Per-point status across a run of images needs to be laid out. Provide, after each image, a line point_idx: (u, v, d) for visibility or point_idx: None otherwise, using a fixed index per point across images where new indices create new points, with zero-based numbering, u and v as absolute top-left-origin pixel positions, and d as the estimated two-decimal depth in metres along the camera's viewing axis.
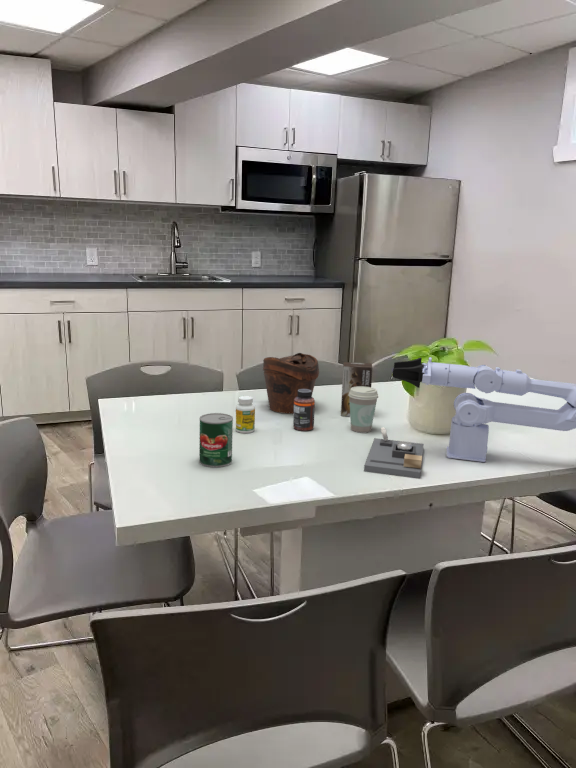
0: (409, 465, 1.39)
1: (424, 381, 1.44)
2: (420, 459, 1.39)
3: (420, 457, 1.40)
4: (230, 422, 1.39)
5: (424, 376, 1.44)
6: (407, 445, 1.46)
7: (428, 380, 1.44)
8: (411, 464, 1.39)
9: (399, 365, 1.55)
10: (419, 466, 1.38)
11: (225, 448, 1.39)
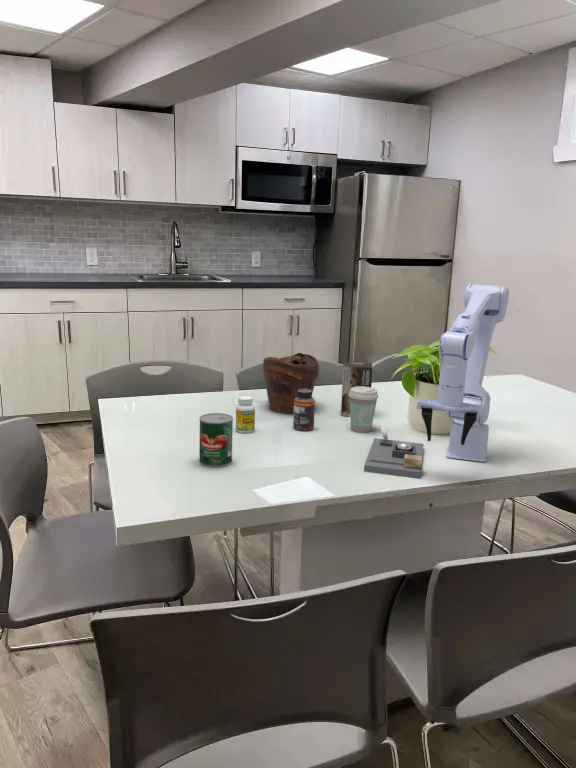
0: (409, 465, 1.39)
1: None
2: (420, 459, 1.39)
3: (420, 457, 1.40)
4: (230, 422, 1.39)
5: (482, 413, 1.33)
6: (407, 445, 1.46)
7: (482, 408, 1.34)
8: (411, 464, 1.39)
9: None
10: (419, 466, 1.38)
11: (225, 448, 1.39)
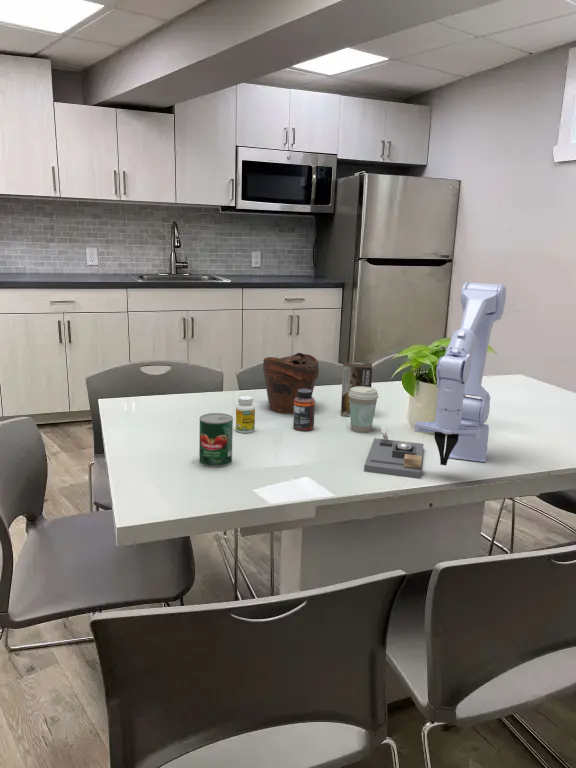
0: (409, 465, 1.39)
1: None
2: (420, 459, 1.39)
3: (420, 457, 1.40)
4: (230, 422, 1.39)
5: (479, 436, 1.34)
6: (407, 445, 1.46)
7: (480, 431, 1.35)
8: (411, 464, 1.39)
9: None
10: (419, 466, 1.38)
11: (225, 448, 1.39)
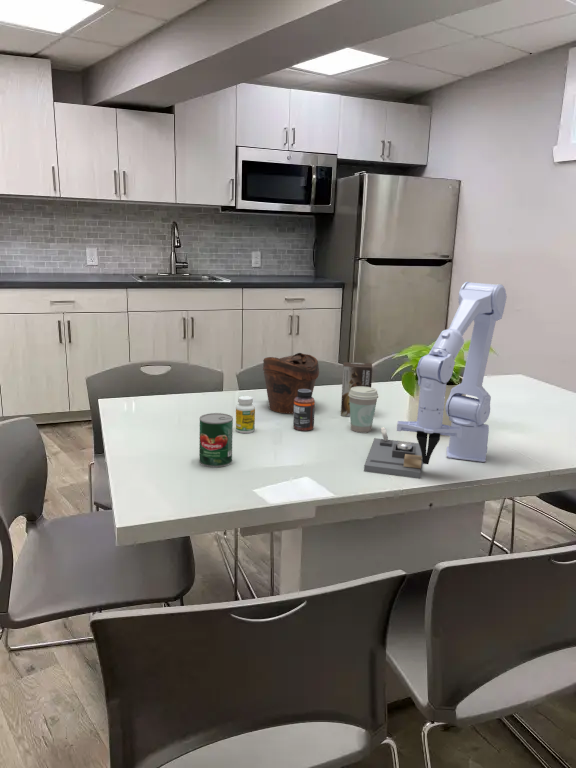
0: (409, 465, 1.39)
1: None
2: (420, 459, 1.39)
3: (420, 457, 1.40)
4: (230, 422, 1.39)
5: (460, 435, 1.35)
6: (407, 445, 1.46)
7: None
8: (411, 464, 1.39)
9: None
10: (419, 466, 1.38)
11: (225, 448, 1.39)
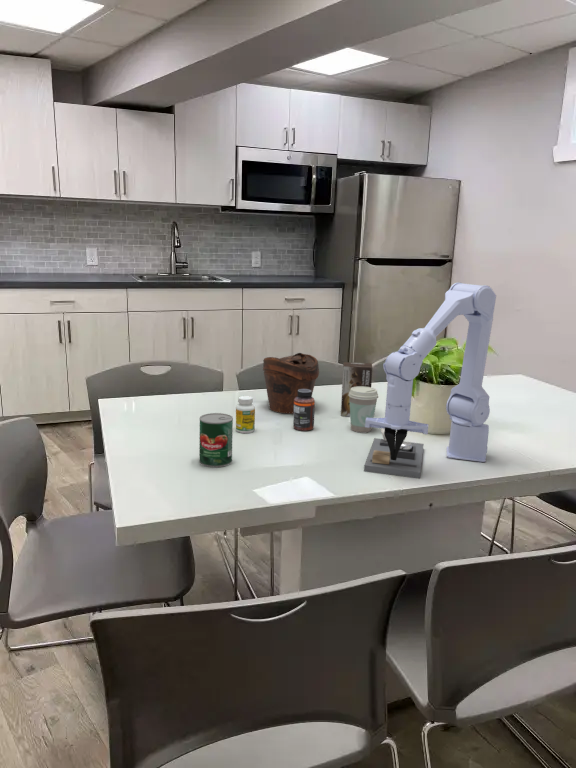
0: (377, 461, 1.41)
1: None
2: (388, 455, 1.40)
3: (388, 453, 1.42)
4: (230, 422, 1.39)
5: (427, 432, 1.37)
6: (407, 445, 1.46)
7: None
8: (379, 460, 1.41)
9: None
10: (387, 462, 1.40)
11: (225, 448, 1.39)
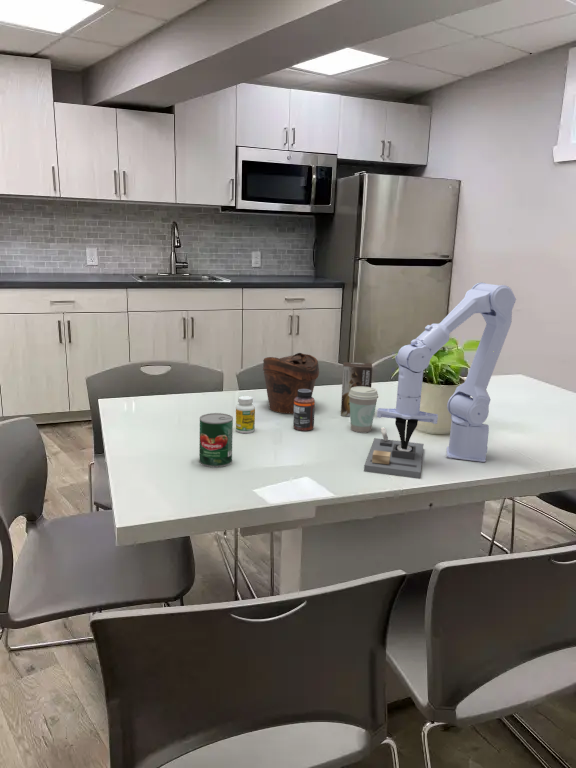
0: (377, 461, 1.41)
1: None
2: (388, 455, 1.40)
3: (388, 453, 1.42)
4: (230, 422, 1.39)
5: None
6: (407, 449, 1.46)
7: (437, 416, 1.44)
8: (379, 460, 1.41)
9: (404, 442, 1.47)
10: (387, 462, 1.40)
11: (225, 448, 1.39)
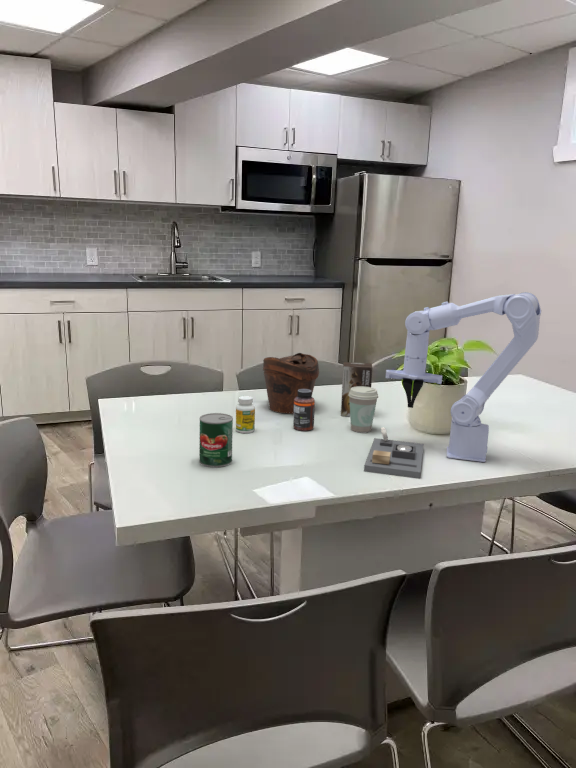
0: (377, 461, 1.41)
1: None
2: (388, 455, 1.40)
3: (388, 453, 1.42)
4: (230, 422, 1.39)
5: (441, 382, 1.54)
6: (407, 449, 1.46)
7: None
8: (379, 460, 1.41)
9: None
10: (387, 462, 1.40)
11: (225, 448, 1.39)
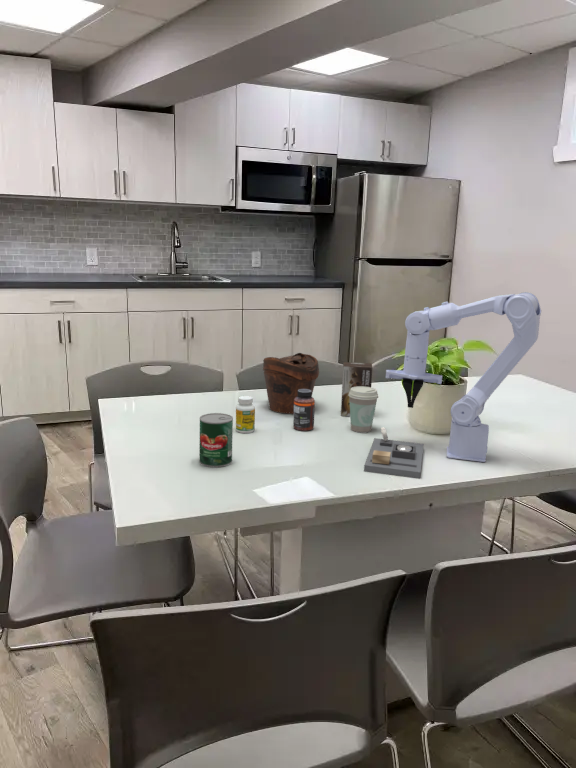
0: (377, 461, 1.41)
1: None
2: (388, 455, 1.40)
3: (388, 453, 1.42)
4: (230, 422, 1.39)
5: (441, 382, 1.54)
6: (407, 449, 1.46)
7: None
8: (379, 460, 1.41)
9: None
10: (387, 462, 1.40)
11: (225, 448, 1.39)
